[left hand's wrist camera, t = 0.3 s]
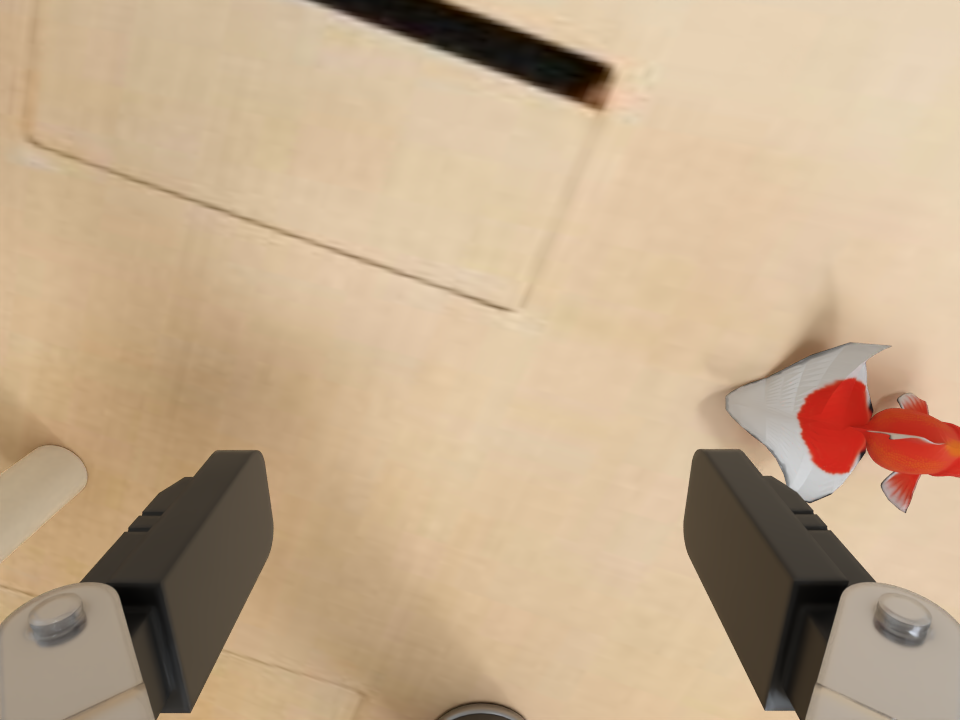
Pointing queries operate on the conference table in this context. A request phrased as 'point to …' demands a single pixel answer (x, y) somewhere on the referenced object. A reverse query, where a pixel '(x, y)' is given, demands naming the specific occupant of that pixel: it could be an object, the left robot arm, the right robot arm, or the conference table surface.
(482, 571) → the conference table surface
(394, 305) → the conference table surface
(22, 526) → the jar
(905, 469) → the fish
